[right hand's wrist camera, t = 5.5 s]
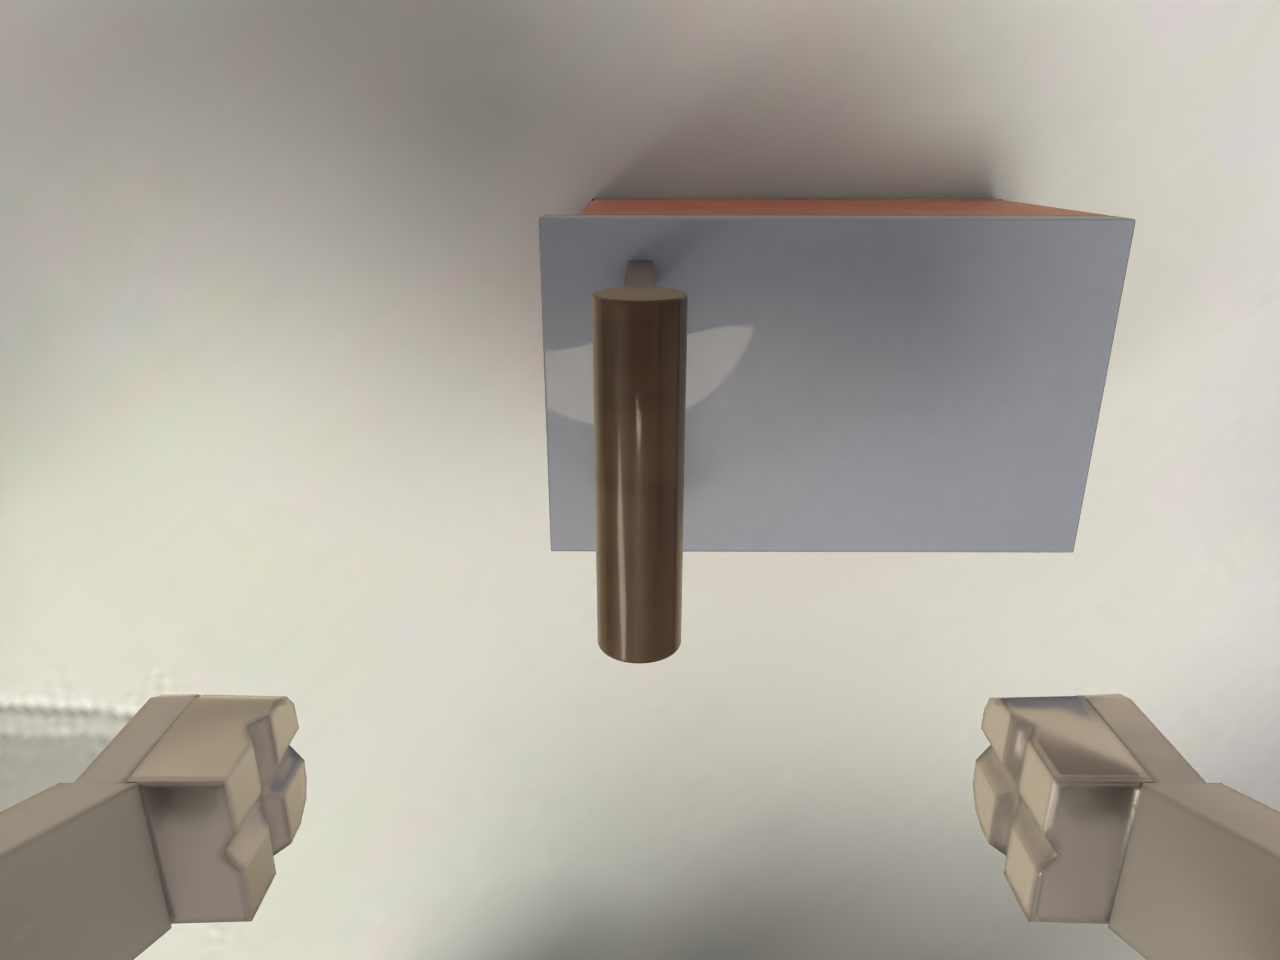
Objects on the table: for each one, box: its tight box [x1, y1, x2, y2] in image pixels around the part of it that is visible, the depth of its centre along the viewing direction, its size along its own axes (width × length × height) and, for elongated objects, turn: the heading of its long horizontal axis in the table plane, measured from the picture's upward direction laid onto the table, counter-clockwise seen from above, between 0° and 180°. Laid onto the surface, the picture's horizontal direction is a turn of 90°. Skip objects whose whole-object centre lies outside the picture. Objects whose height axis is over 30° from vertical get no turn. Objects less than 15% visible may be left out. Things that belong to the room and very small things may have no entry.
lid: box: [539, 215, 1135, 663], centre depth 22 cm, size 16×10×9 cm, turn 90°
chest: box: [579, 198, 1108, 216], centre depth 31 cm, size 15×10×9 cm, turn 90°
